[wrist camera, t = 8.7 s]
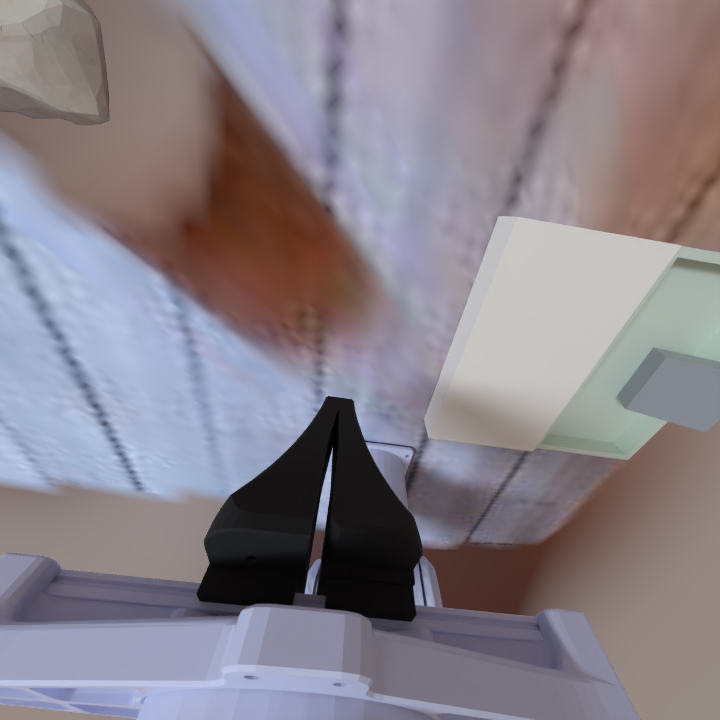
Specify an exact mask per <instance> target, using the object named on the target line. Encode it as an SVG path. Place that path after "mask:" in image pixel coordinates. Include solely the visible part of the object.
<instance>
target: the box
mask: <svg viewBox="0 0 720 720" xmlns="http://www.w3.org/2000/svg"><path fill="white" fill-rule="evenodd" d="M653 347H654V348H658V349H663V350H668V351H672V352H677V353H682V354H686V355H691V356H696V357H700V358H705V359H710V360H714V361H719V362H720V253H719V252H713V251H707V250H701V249H696V248H690V247H684V246H681V247H680V249H679V250H678V251H677V253H676V254H675V256H674V257H673V258H672V260H671V261H670V262H669V264H668V265H667V267H666V268H665V269H664V271H663V272H662V274H661V275H660V276H659V278H658V279H657V280H656V282H655V283H654V285H653V286H652V287H651V289H650V290H649V292H648V293H647V294H646V296H645V297H644V298H643V300H642V301H641V303H640V304H639V305H638V307H637V308H636V310H635V311H634V312H633V314H632V315H631V316H630V318H629V319H628V321H627V322H626V323H625V325H624V326H623V327H622V329H621V330H620V332H619V333H618V334H617V336H616V337H615V339H614V340H613V341H612V343H611V344H610V345H609V347H608V348H607V350H606V351H605V352H604V354H603V355H602V357H601V358H600V359H599V361H598V362H597V363H596V365H595V366H594V368H593V369H592V370H591V372H590V373H589V375H588V376H587V377H586V379H585V380H584V381H583V383H582V384H581V386H580V387H579V388H578V390H577V391H576V392H575V394H574V395H573V397H572V398H571V399H570V401H569V402H568V404H567V405H566V406H565V408H564V409H563V410H562V412H561V413H560V415H559V416H558V417H557V419H556V420H555V422H554V423H553V424H552V426H551V427H550V428H549V430H548V431H547V433H546V434H545V435H544V437H543V438H542V440H541V441H540V442H539V444H538V445H537V446H536V448H538V449H546V450H554V451H561V452H569V453H577V454H584V455H592V456H600V457H608V458H615V459H623V460H629V459H630V458H631V457H632V456H633V455H634V454H635V453H636V452H637V451H638V450H639V449H640V448H641V447H642V446H643V445H644V444H645V443H646V442H647V441H648V440H649V439H650V438H651V437H652V436H653V435H654V434H655V433H656V432H657V431H658V430H659V429H660V428H662V427H663V426H664V425H665V424H666V423H667V422H668V421H665V420H661V419H658V418H654V417H651V416H647V415H644V414H640V413H637V412H633V411H630V410H626V409H625V408H624V407H623V405H622V404H621V402H620V401H619V399H618V398H617V395H618V394H619V393H620V391H621V390H622V389H623V387H624V386H625V385H626V383H627V382H628V381H629V379H630V378H631V377H632V375H633V374H634V373H635V371H636V370H637V369H638V367H639V366H640V365H641V363H642V362H643V360H644V359H645V358H646V356H647V355H648V354H649V352H650V351H651V350H652V348H653Z"/></svg>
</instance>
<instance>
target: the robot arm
mask: <svg viewBox="0 0 720 720" xmlns="http://www.w3.org/2000/svg"><path fill="white" fill-rule="evenodd" d="M339 402H340V403H339ZM332 447H333V455H332V474H331V490H330V500H329V507H328V514H327V521H326V528H325V536H324V543H323V550H322V557H321V559H318V560H316V561H315V563H314V564H313V566H312V567H311V569H310V570H309V564H310V558H311V551H312V545H313V539H314V533H315V527H316V521H317V515H318V509H319V503H320V496H321V491H322V487H323V483H324V479H325V475H326V471H327V467H328V463H329V459H330V455H331V451H332ZM413 453H414V452H413V449H412V448H409V447H401V446H394V445H386V444H378V443H370V442H365V440H364V437H363V435H362V432H361V429H360V426H359V423H358V420H357V416H356V412H355V407H354V401H353V400H352V399H345V398H338V397H331V396H328V397H326V399H325V401H324V403H323V405H322V407H321V409H320V410H319V412H318V413H317V415H316V416H315V418H314V419H313V421H312V422H311V423H310V425H309V426H308V427H307V429H306V430H305V431H304V432H303V434H302V435H301V436H300V437H299V438H298V439H297V441H296V442H295V443H294V444H293V445H292V446H291V447H290V448H289V449H288V450H287V451H286V452H285V453H284V454H283V455H282V456H281V457H280V458H279V459H277V460H276V461H275V462H274V463H273V464H272V465H271V466H269V467H268V468H267V469H266V470H264V471H263V472H262V473H261V474H259V475H258V476H257V477H256V478H254V479H253V480H252V481H250V482H249V483H247V484H246V485H244V486H243V487H241V488H240V489H239V490H237V491H236V492H234V493H233V494H231V495H230V497H229V498H228V499H227V501H226V502H225V503H224V505H223V506H222V508H221V509H220V511H219V512H218V514H217V516H216V517H215V519H214V521H213V523H212V525H211V527H210V529H209V531H208V533H207V535H206V538H205V539H204V546H205V550H206V553H207V556H208V559H209V562H210V564H209V566H208V568H207V571H206V573H205V575H204V577H203V580H202V582H201V583H193V582H181V581H173V580H163V579H152V578H142V577H132V576H122V575H113V574H102V573H93V572H82V571H73V570H63V569H61V567H60V565H59V564H58V563H57V562H56V561H54V560H53V559H51V558H48V557H44V556H36V555H26V554H17V553H6V554H3V555H2V556H1V557H0V704H2V705H13V706H23V707H33V708H42V709H52V710H61V711H71V712H79V713H88V714H98V715H107V716H117V717H125V718H134V719H136V720H641V719H640V717H639V715H638V713H637V711H636V710H635V708H634V706H633V704H632V702H631V700H630V698H629V697H628V695H627V693H626V691H625V689H624V687H623V685H622V683H621V681H620V679H619V678H618V676H617V674H616V672H615V670H614V668H613V666H612V664H611V663H610V661H609V659H608V657H607V655H606V653H605V651H604V650H603V648H602V646H601V644H600V642H599V640H598V638H597V636H596V634H595V632H594V631H593V629H592V627H591V625H590V623H589V621H588V619H587V617H586V616H585V614H584V613H583V612H581V611H573V610H563V609H546V610H543V611H541V612H540V613H538V614H537V616H536V617H531V616H522V615H511V614H502V613H492V612H482V611H472V610H462V609H451V608H443V607H442V601H441V597H440V591H439V586H438V581H437V577H436V573H435V570H434V567H433V566H432V565H431V563H430V562H428V561H427V558H426V557H421V556H422V552H423V551H422V544H421V539H420V535H419V532H418V528H417V525H416V522H415V519H414V517H413V516H412V514H411V513H410V512H409V509H408V502H407V494H406V487H405V479H404V477H405V475H406V472H407V469H408V467H409V464H410V461H411V459H412V456H413ZM418 562H419V567H418ZM308 570H309V571H308Z"/></svg>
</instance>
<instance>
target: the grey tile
mask: <svg viewBox="0 0 720 720" xmlns="http://www.w3.org/2000/svg"><path fill="white" fill-rule="evenodd" d="M617 398H618V399H619V401H620V402H621V404H622V405H623V407H624V408H625V409H626V410H630V411H633V412H637V413H640V414H644V415H647V416H651V417H654V418H658V419H661V420H665V421H668V422H672V423H675V424H679V425H682V426H686V427H689V428H693V429H696V430H700V431H703V432H707V431H708V430H709V429H710V428H711V427H712V426H713V425H714V424H715V423H716V422H717V421H718V420H719V419H720V362H719V361H714V360H710V359H705V358H700V357H696V356H691V355H686V354H682V353H677V352H672V351H668V350H663V349H658V348H654V347H653V348H652V350H651V351H650V352H649V354H648V355H647V356H646V358H645V359H644V360H643V362H642V363H641V365H640V366H639V367H638V369H637V370H636V371H635V373H634V374H633V375H632V377H631V378H630V379H629V381H628V382H627V383H626V385H625V386H624V387H623V389H622V390H621V391H620V393H619V394H618V395H617Z"/></svg>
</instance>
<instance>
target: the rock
mask: <svg viewBox="0 0 720 720" xmlns="http://www.w3.org/2000/svg"><path fill="white" fill-rule="evenodd" d="M0 111H6V112H17V113H20V114H23V115H26V116H28V117H32V118H60V119H64V120H68V121H71V122H73V123H75V124H80V125H93V124H101V123H104V122H107V121H109V92H108V83H107V73H106V65H105V56H104V49H103V41H102V34H101V28H100V23H99V21H98V20H97V18H96V16H95V15H94V13H93V11H92V10H91V8H90V7H89V6H88V5H87V4H86V3H85V2H84V1H83V0H0Z"/></svg>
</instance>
